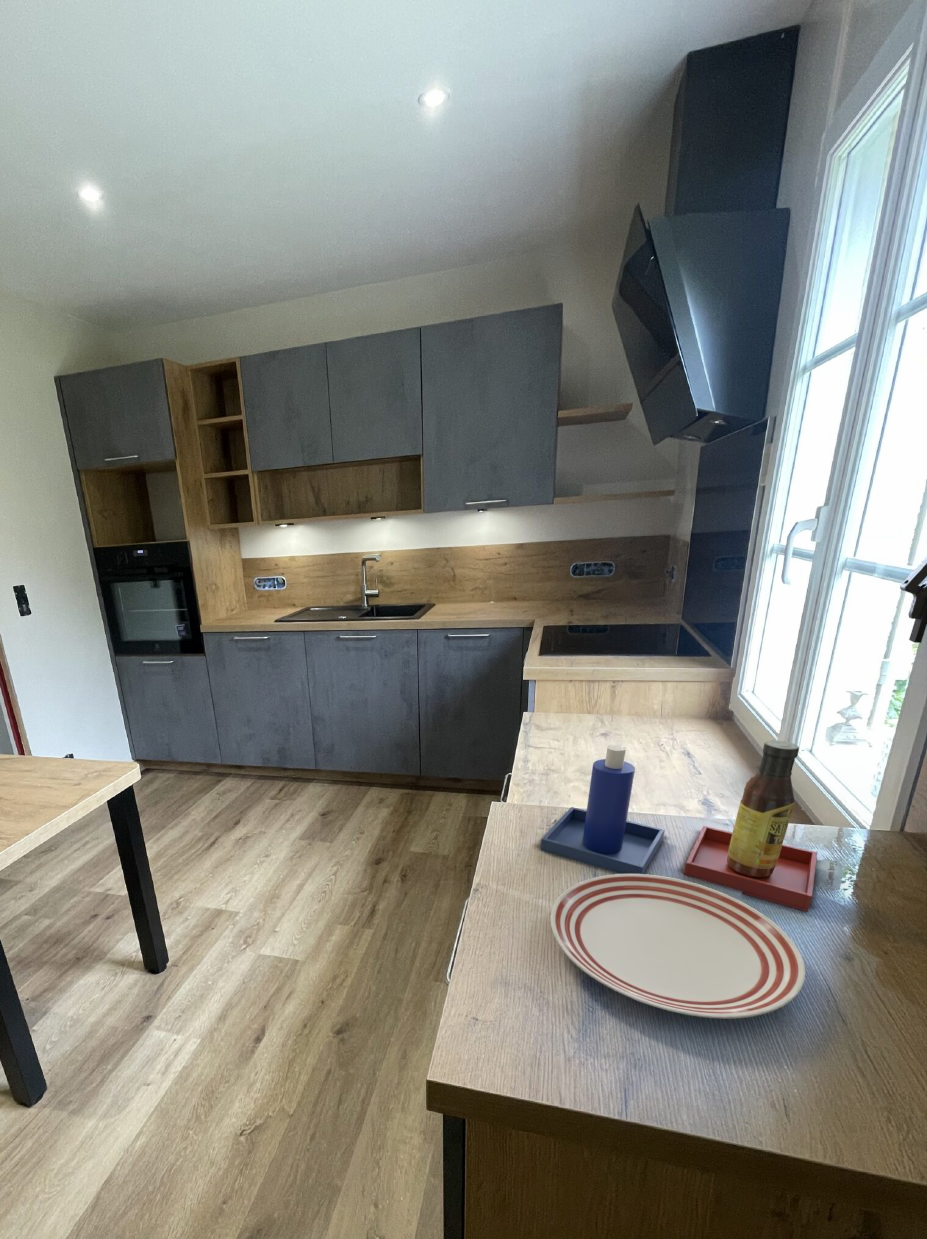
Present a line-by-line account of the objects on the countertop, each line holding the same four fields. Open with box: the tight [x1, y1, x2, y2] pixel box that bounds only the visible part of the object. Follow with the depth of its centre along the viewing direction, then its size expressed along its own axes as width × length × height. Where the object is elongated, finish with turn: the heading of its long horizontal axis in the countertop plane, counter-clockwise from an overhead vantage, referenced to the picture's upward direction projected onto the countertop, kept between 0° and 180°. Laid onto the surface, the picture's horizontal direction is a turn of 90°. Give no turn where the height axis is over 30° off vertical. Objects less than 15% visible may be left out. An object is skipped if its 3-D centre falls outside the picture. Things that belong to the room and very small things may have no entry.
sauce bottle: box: [727, 739, 800, 878], centre depth 88 cm, size 7×6×20 cm
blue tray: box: [539, 806, 666, 874], centre depth 100 cm, size 15×14×2 cm
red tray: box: [683, 825, 818, 913], centre depth 92 cm, size 15×14×2 cm
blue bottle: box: [582, 744, 636, 854], centre depth 97 cm, size 6×6×17 cm
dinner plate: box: [549, 873, 807, 1019], centre depth 76 cm, size 27×27×3 cm
